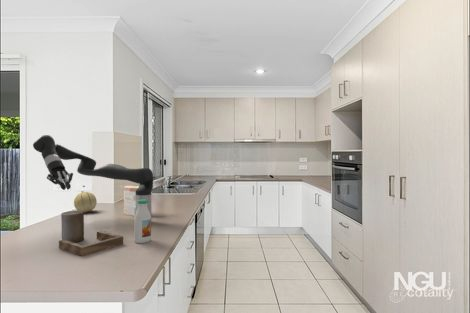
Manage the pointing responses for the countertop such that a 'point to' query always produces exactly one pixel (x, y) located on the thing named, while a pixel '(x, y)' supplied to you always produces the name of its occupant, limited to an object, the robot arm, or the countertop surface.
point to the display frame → (107, 242)
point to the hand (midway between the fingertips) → (66, 188)
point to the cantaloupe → (85, 201)
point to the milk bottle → (142, 223)
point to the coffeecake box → (130, 200)
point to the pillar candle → (73, 226)
